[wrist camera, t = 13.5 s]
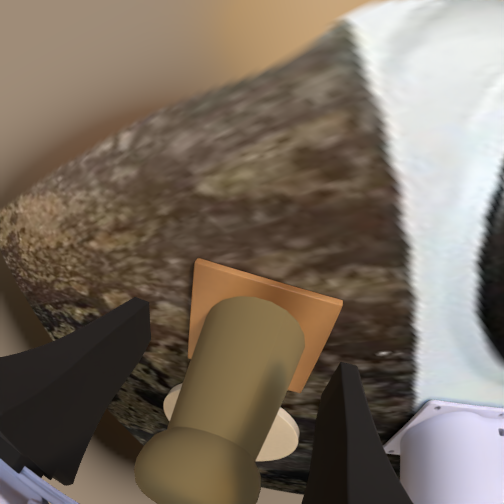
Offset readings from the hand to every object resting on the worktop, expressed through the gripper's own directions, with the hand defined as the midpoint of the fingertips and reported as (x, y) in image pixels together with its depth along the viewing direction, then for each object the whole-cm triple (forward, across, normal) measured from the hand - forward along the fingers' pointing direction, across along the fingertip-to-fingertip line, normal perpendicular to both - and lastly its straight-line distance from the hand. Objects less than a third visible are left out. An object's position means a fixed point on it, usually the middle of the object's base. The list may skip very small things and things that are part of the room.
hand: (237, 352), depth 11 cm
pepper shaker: (+6, 0, +5) cm, 8 cm away
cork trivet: (+6, 0, +5) cm, 8 cm away
